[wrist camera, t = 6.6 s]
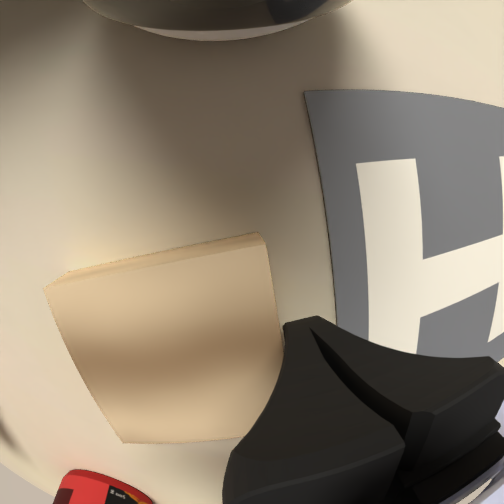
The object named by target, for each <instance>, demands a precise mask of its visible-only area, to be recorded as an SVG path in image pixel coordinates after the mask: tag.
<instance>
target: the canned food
mask: <svg viewBox="0 0 504 504" xmlns="http://www.w3.org/2000/svg"><path fill="white" fill-rule="evenodd" d="M53 504H153V503H152V501H151V500H150V499H149V498H148V497H147V496H146V495H145V494H143V493H142V492H140V491H139V490H137V489H135V488H133V487H132V486H130V485H128V484H125V483H123V482H121V481H119V480H116V479H114V478H111V477H108V476H105V475H103V474H99V473H96V472H92V471H87V470H71V471H69V472H68V473H67V474H66V475H65V476H64V477H63V479H62V481H61V484H60V486H59V489H58V491H57V494H56V497H55V499H54V502H53Z"/></svg>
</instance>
